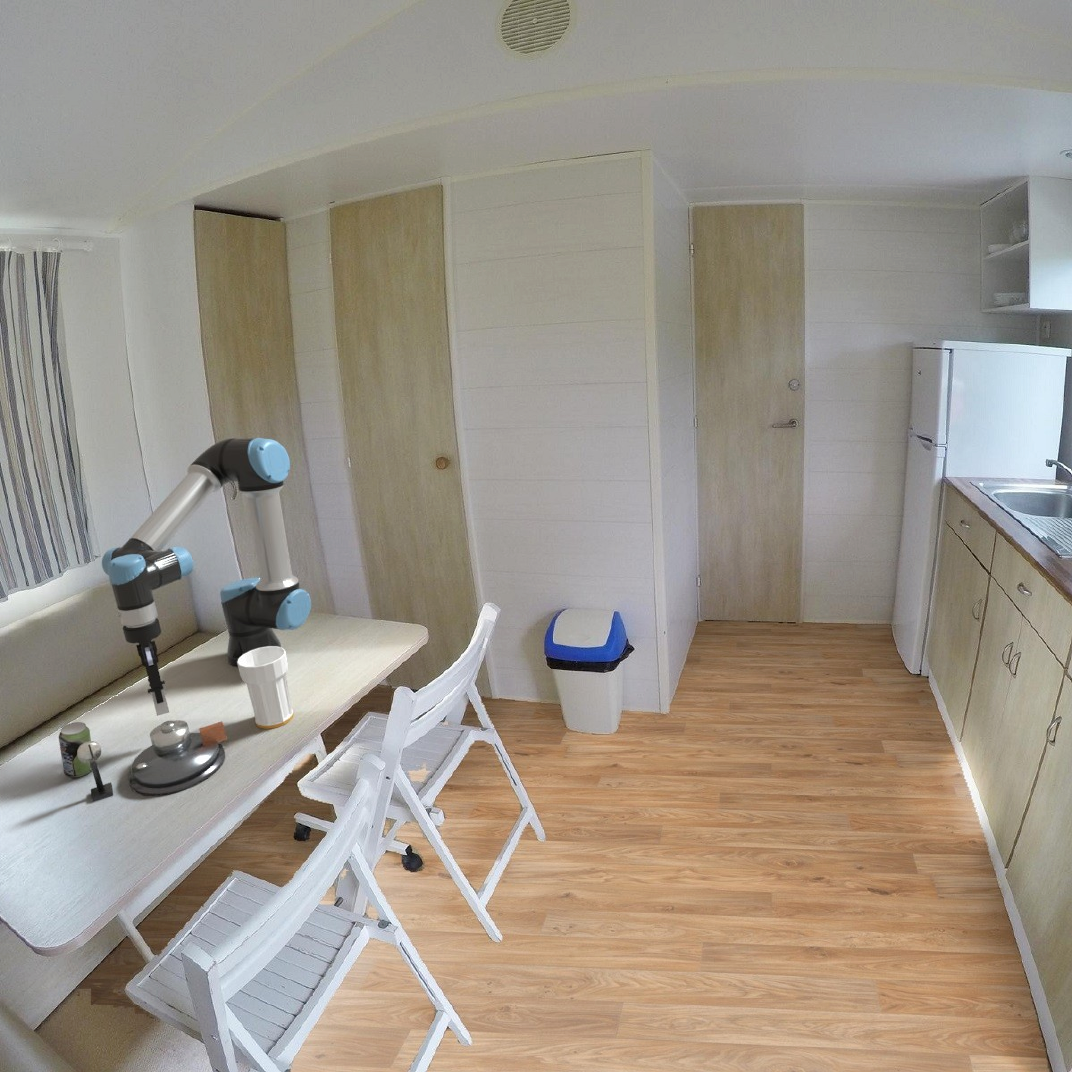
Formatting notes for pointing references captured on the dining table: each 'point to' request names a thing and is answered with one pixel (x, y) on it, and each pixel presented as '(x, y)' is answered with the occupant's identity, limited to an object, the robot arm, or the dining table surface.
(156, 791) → the turntable base
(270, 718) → the cup
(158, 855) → the dining table surface
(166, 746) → the cover
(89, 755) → the dial stand
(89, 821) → the dining table surface
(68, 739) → the beverage can
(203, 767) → the turntable
